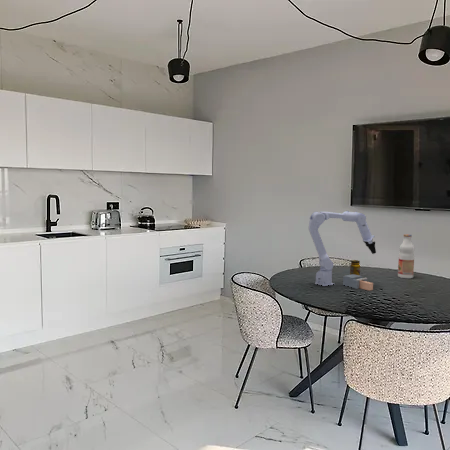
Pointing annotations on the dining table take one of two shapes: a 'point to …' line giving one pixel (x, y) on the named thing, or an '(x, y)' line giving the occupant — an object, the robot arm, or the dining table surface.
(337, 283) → the dining table surface
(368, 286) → the peach rectangular block
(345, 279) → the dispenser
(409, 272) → the fruit juice
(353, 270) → the condiment
